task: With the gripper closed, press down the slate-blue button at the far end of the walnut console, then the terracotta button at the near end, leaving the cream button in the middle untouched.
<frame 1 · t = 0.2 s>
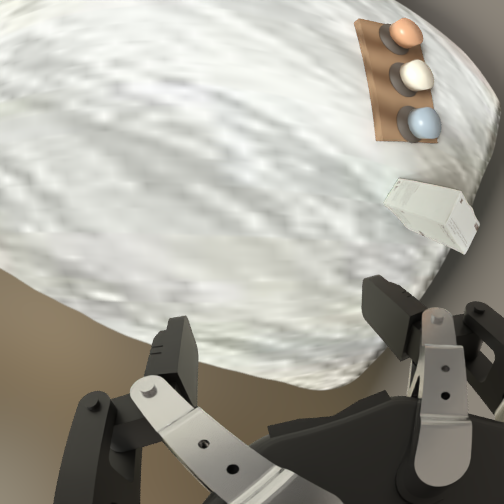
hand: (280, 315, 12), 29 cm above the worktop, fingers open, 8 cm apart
button terracotta: (406, 33, 27), point 6 cm above the worktop, slide at 0.0 cm
button cream: (417, 75, 30), point 6 cm above the worktop, slide at 0.0 cm
skincare box: (403, 203, 43), on the worktop
board: (397, 81, 35), on the worktop
button slate: (424, 123, 32), point 6 cm above the worktop, slide at 0.0 cm
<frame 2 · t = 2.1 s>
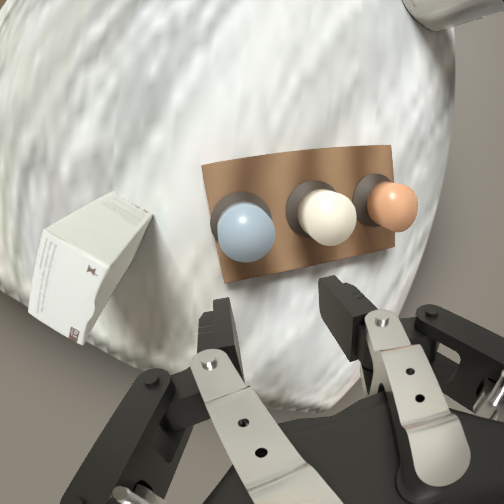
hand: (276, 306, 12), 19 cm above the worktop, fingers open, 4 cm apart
button terracotta: (392, 206, 26), point 6 cm above the worktop, slide at 0.0 cm
button cream: (326, 216, 26), point 6 cm above the worktop, slide at 0.0 cm
skincare box: (120, 233, 29), on the worktop
board: (308, 206, 31), on the worktop
button slate: (245, 230, 25), point 6 cm above the worktop, slide at 0.0 cm
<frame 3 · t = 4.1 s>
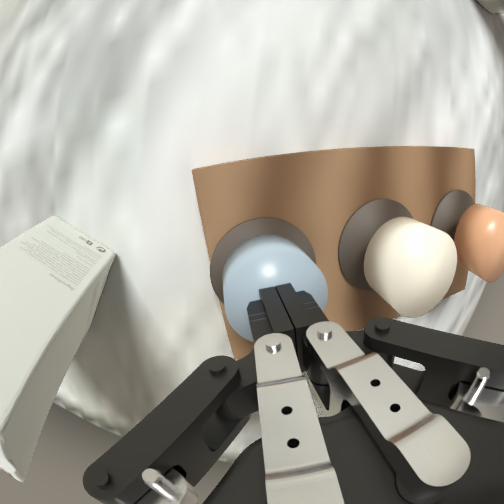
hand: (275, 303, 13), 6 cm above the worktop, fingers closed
button terracotta: (486, 242, 14), point 6 cm above the worktop, slide at 0.0 cm
button cream: (411, 266, 14), point 6 cm above the worktop, slide at 0.0 cm
skincare box: (72, 279, 17), on the worktop
board: (365, 237, 19), on the worktop
button slate: (271, 288, 14), point 5 cm above the worktop, slide at 1.2 cm, touching gripper
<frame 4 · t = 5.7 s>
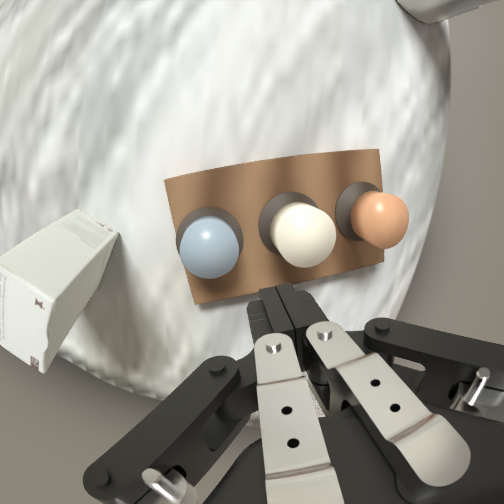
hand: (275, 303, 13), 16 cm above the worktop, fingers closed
button terracotta: (380, 218, 24), point 6 cm above the worktop, slide at 0.0 cm
button cream: (302, 233, 23), point 6 cm above the worktop, slide at 0.0 cm
skincare box: (88, 252, 27), on the worktop
board: (285, 219, 29), on the worktop
button slate: (209, 245, 24), point 4 cm above the worktop, slide at 1.8 cm
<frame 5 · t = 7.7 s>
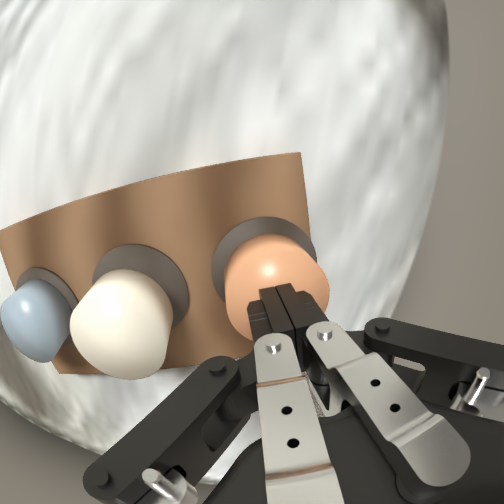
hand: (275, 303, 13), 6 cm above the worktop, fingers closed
button terracotta: (273, 288, 14), point 5 cm above the worktop, slide at 1.1 cm, touching gripper
button cream: (123, 325, 13), point 6 cm above the worktop, slide at 0.0 cm
board: (145, 279, 18), on the worktop
button slate: (36, 320, 14), point 4 cm above the worktop, slide at 1.8 cm
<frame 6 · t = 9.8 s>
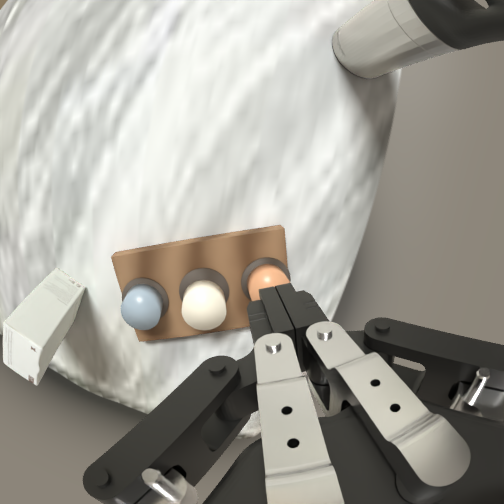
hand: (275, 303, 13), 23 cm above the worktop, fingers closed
button terracotta: (268, 287, 34), point 4 cm above the worktop, slide at 1.8 cm
button cream: (203, 305, 31), point 6 cm above the worktop, slide at 0.0 cm
skincare box: (65, 297, 34), on the worktop
board: (204, 284, 36), on the worktop
button slate: (142, 306, 32), point 4 cm above the worktop, slide at 1.8 cm
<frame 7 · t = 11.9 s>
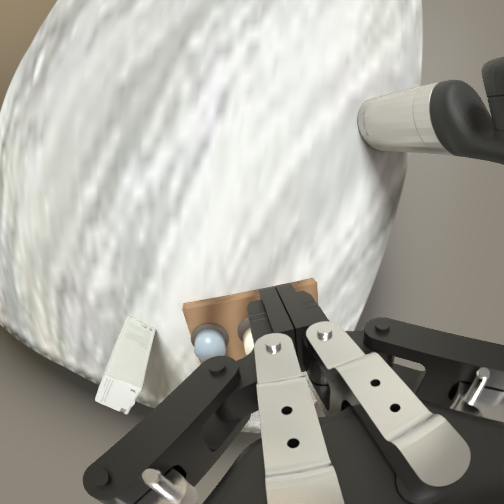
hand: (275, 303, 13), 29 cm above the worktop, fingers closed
button cream: (259, 343, 42), point 6 cm above the worktop, slide at 0.0 cm
skincare box: (135, 337, 45), on the worktop
board: (254, 323, 47), on the worktop
button slate: (209, 345, 43), point 4 cm above the worktop, slide at 1.8 cm
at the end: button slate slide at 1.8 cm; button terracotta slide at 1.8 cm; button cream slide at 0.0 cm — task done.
